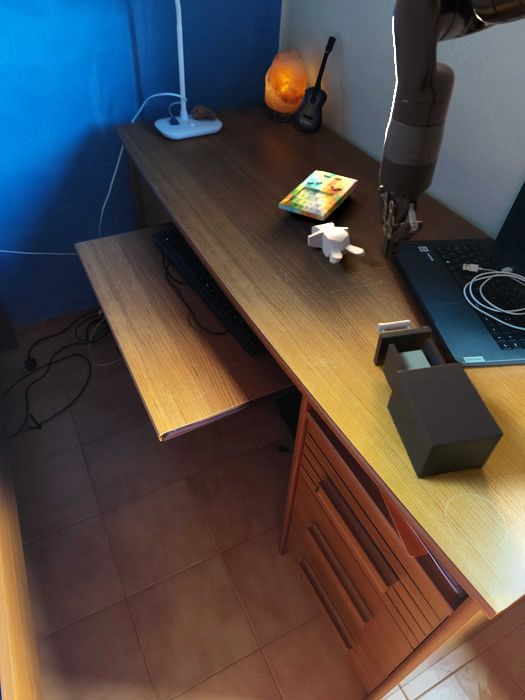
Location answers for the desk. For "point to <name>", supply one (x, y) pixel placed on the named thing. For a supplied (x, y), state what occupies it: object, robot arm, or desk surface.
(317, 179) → the puzzle game
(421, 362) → the block
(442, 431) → the dark box
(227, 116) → the desk surface
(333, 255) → the bunny figurine
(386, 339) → the drawer
